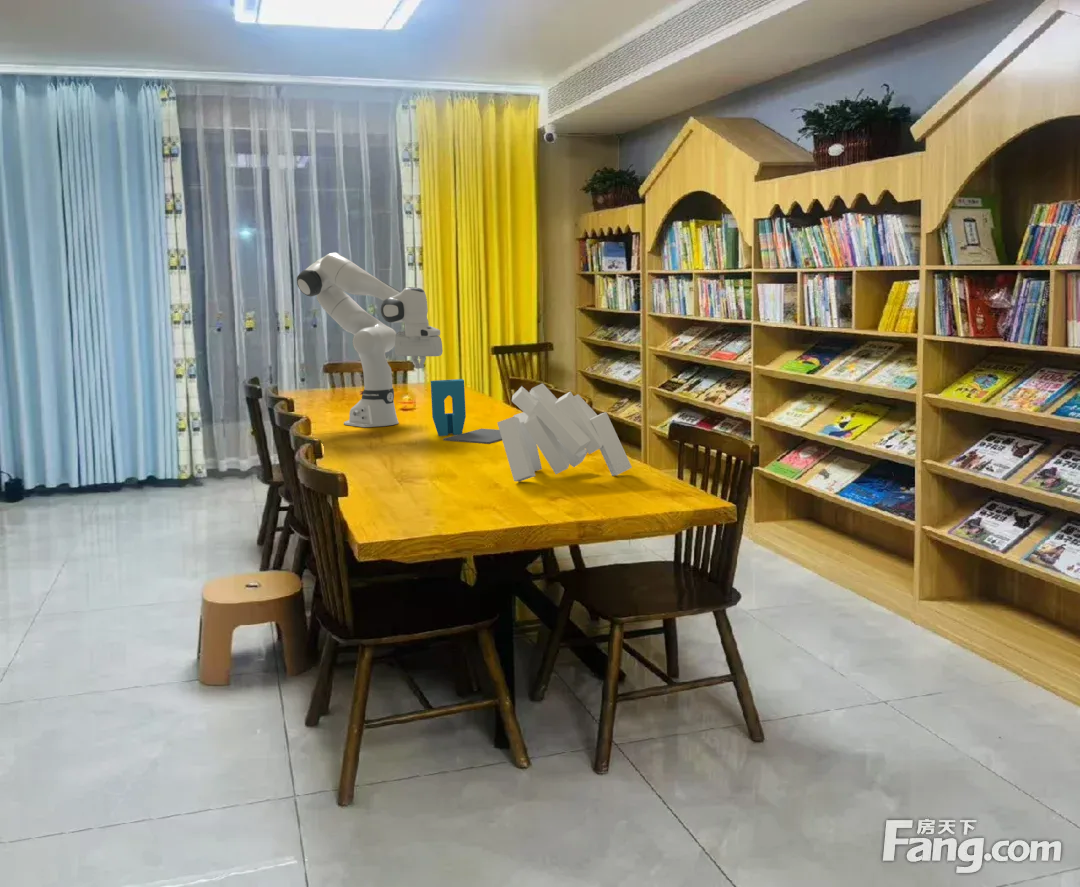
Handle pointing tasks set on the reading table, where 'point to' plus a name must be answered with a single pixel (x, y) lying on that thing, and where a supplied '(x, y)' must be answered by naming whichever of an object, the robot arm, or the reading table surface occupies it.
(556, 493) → the reading table surface
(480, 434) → the mat
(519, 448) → the pile of blocks
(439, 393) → the block
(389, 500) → the reading table surface
